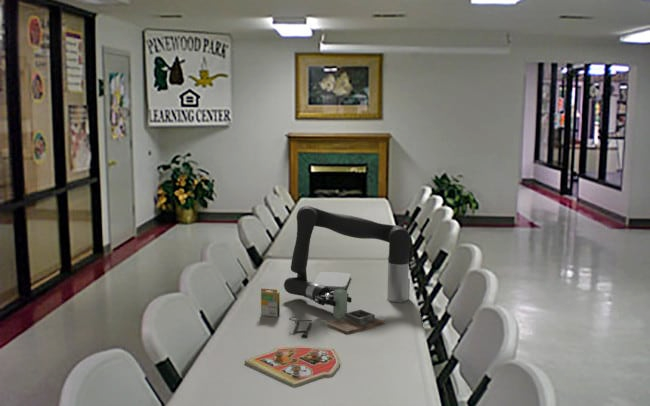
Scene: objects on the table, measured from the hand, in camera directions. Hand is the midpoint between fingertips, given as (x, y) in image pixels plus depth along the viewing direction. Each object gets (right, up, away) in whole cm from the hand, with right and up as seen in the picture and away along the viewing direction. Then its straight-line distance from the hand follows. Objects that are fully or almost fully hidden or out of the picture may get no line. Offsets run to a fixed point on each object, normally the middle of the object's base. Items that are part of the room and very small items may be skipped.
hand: (343, 302), depth 274 cm
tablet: (-4, +1, +54) cm, 54 cm away
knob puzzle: (-15, -14, -47) cm, 52 cm away
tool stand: (+5, -8, -8) cm, 12 cm away
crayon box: (-30, -6, +3) cm, 31 cm away
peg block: (-1, -6, +2) cm, 7 cm away
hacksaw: (-18, -9, -12) cm, 23 cm away
